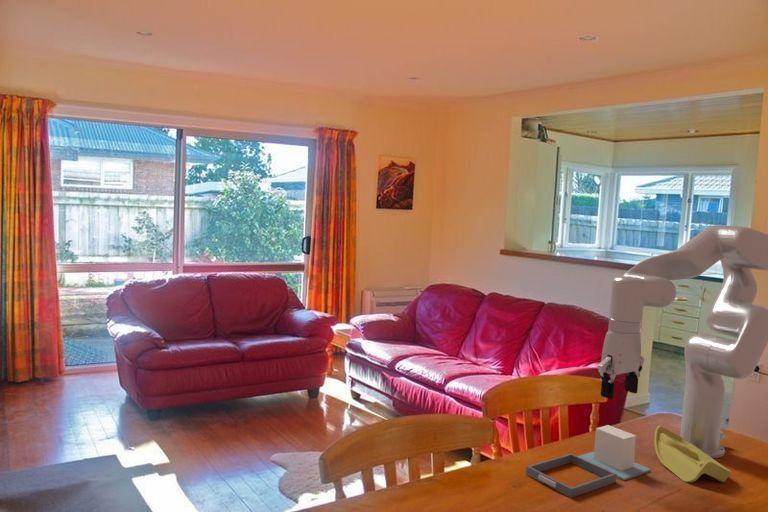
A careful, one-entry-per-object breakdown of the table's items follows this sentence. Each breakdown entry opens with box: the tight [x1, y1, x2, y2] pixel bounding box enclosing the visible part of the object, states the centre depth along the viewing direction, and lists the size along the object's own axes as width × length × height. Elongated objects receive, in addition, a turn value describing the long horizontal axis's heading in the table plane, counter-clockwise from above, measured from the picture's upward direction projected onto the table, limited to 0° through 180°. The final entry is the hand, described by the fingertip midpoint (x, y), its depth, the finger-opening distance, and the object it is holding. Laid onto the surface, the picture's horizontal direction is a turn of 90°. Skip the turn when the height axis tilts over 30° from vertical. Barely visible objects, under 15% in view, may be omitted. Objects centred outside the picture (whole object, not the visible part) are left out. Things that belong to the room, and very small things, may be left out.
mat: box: [577, 451, 652, 481], centre depth 157 cm, size 11×14×1 cm
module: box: [593, 424, 637, 471], centre depth 156 cm, size 5×8×8 cm, turn 35°
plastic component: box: [653, 424, 732, 483], centre depth 158 cm, size 20×7×10 cm
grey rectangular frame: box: [525, 453, 617, 499], centre depth 147 cm, size 17×13×2 cm
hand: (619, 394), depth 155 cm, fingers open, 9 cm apart
